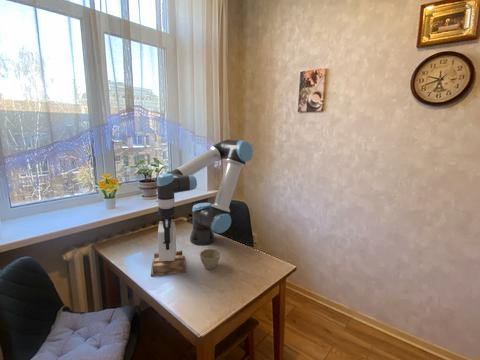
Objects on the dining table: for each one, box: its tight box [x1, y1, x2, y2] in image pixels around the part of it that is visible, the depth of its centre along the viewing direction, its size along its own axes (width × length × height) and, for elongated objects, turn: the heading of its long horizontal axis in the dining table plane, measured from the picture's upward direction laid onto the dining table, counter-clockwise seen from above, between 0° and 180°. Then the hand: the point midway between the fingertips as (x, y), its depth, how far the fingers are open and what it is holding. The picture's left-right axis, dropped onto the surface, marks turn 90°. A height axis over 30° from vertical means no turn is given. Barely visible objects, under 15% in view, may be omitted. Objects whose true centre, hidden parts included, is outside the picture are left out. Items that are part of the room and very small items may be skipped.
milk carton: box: [157, 220, 177, 261], centre depth 121 cm, size 7×7×19 cm
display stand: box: [150, 250, 187, 277], centre depth 123 cm, size 16×14×4 cm
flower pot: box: [199, 248, 221, 270], centre depth 123 cm, size 10×10×7 cm
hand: (167, 250), depth 122 cm, fingers closed on milk carton, 8 cm apart
